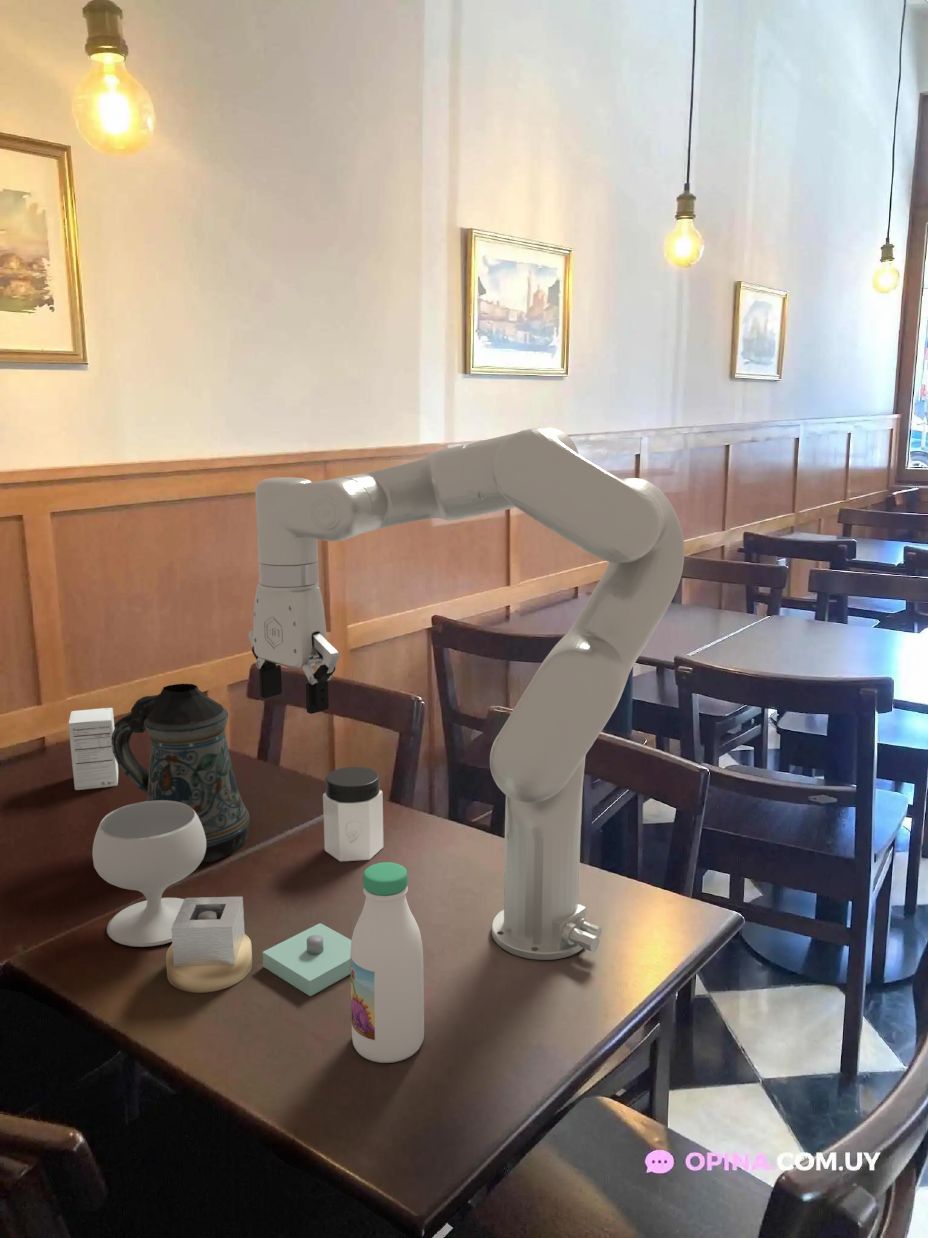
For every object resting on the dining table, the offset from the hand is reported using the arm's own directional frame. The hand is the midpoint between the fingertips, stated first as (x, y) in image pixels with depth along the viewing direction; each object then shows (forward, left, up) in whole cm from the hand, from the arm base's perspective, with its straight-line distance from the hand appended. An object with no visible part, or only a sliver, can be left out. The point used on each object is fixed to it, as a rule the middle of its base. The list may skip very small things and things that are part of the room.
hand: (293, 703), depth 128 cm
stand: (-14, +9, -28) cm, 33 cm away
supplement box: (+61, -2, -28) cm, 67 cm away
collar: (-5, +18, -26) cm, 32 cm away
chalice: (+9, +17, -28) cm, 34 cm away
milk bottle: (-31, +13, -28) cm, 44 cm away
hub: (-5, +18, -28) cm, 34 cm away
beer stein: (+27, +1, -28) cm, 39 cm away
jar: (+6, -15, -28) cm, 33 cm away
